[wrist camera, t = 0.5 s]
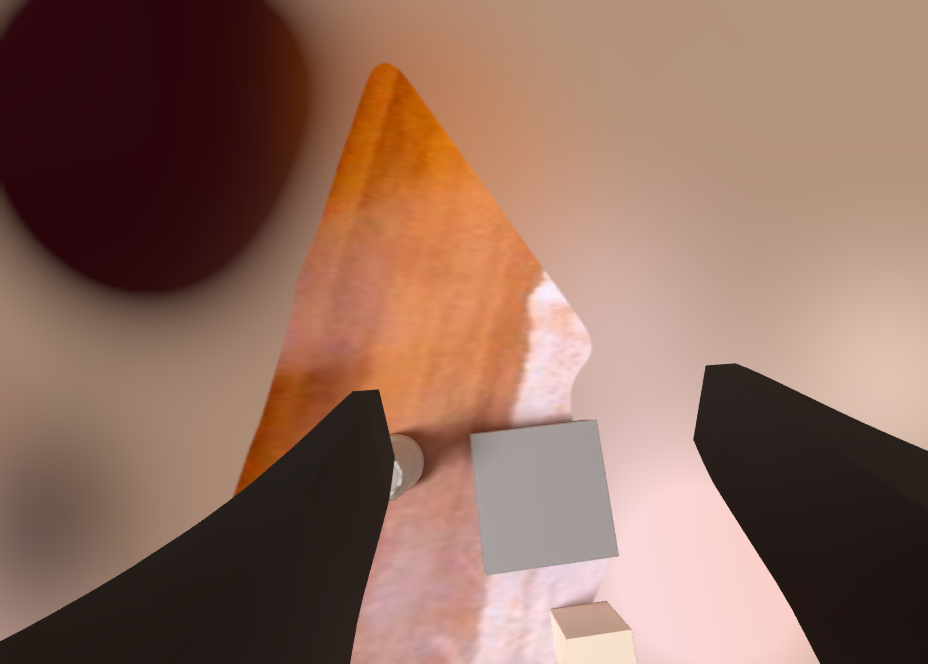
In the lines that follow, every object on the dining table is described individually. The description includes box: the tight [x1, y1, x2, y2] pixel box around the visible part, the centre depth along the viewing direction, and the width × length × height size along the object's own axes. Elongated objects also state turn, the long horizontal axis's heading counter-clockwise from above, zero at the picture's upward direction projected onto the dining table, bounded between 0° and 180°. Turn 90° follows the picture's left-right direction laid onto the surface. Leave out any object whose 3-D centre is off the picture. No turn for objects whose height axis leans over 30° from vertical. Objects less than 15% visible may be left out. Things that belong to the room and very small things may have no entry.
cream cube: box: [550, 601, 637, 664], centre depth 31 cm, size 4×4×4 cm
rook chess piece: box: [389, 434, 424, 501], centre depth 30 cm, size 4×4×8 cm
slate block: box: [469, 420, 619, 575], centre depth 34 cm, size 10×10×2 cm
